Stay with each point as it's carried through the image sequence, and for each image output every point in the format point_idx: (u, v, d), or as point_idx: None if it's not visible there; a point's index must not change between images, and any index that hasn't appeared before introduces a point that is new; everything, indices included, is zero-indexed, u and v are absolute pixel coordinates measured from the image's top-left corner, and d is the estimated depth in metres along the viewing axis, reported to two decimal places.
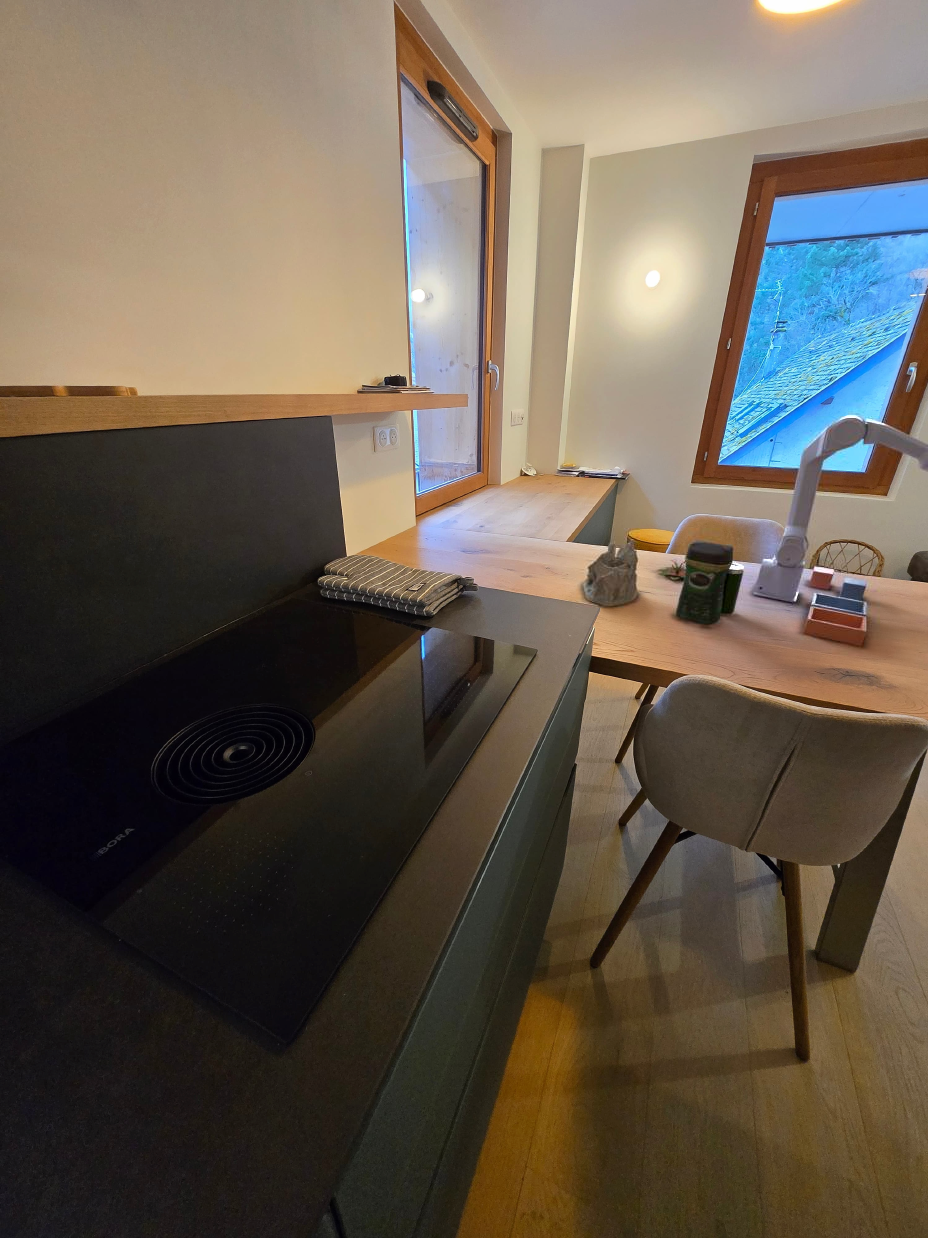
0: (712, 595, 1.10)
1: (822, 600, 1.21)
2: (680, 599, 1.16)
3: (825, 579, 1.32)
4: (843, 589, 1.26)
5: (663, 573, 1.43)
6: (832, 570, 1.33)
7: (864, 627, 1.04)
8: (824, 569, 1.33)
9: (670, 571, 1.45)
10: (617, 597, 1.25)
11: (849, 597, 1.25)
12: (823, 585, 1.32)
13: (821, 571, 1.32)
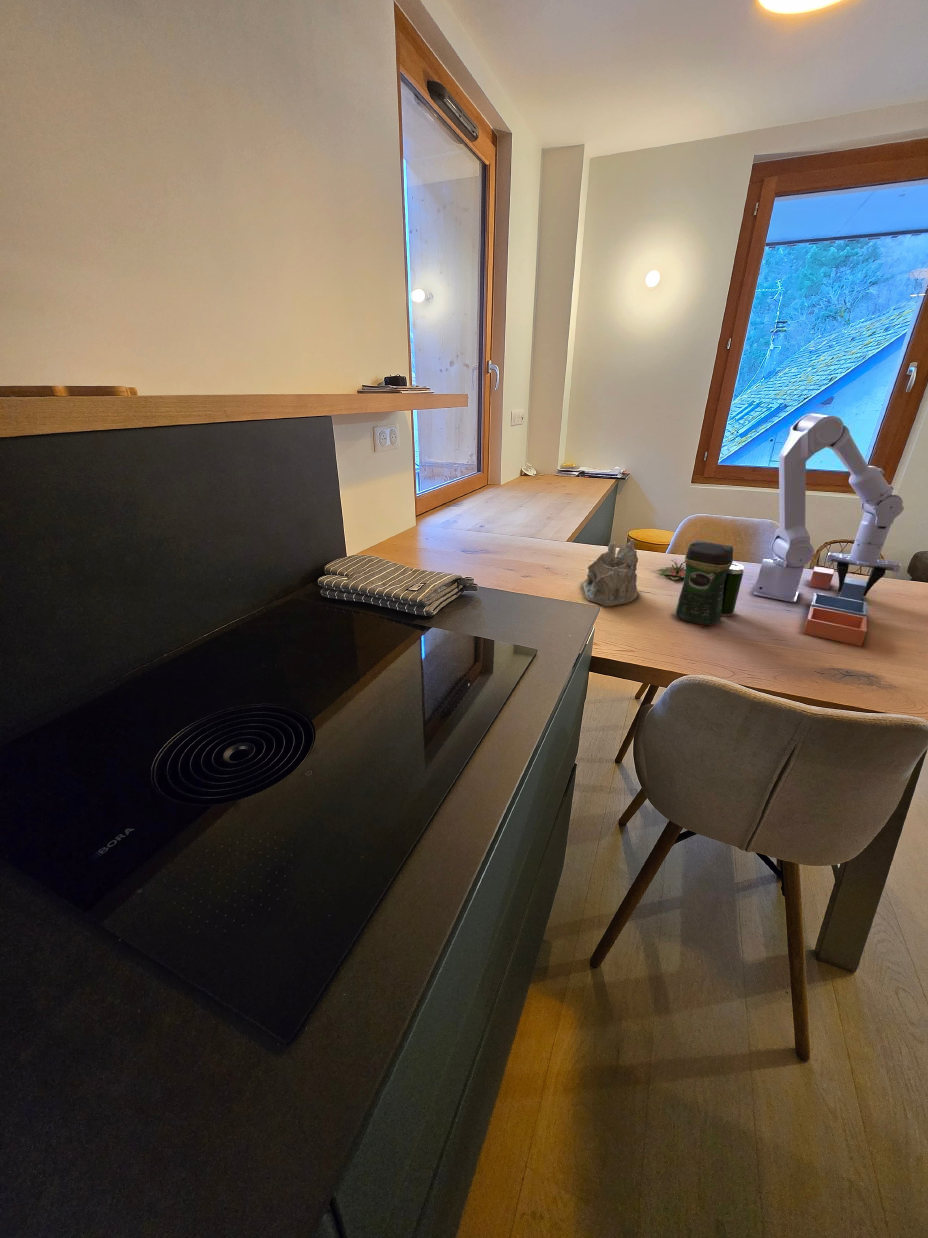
0: (712, 595, 1.10)
1: (822, 600, 1.21)
2: (680, 599, 1.16)
3: (825, 579, 1.32)
4: (843, 589, 1.25)
5: (663, 573, 1.43)
6: (832, 570, 1.33)
7: (864, 627, 1.04)
8: (824, 569, 1.33)
9: (670, 571, 1.45)
10: (617, 597, 1.25)
11: (849, 597, 1.25)
12: (823, 585, 1.32)
13: (821, 571, 1.32)
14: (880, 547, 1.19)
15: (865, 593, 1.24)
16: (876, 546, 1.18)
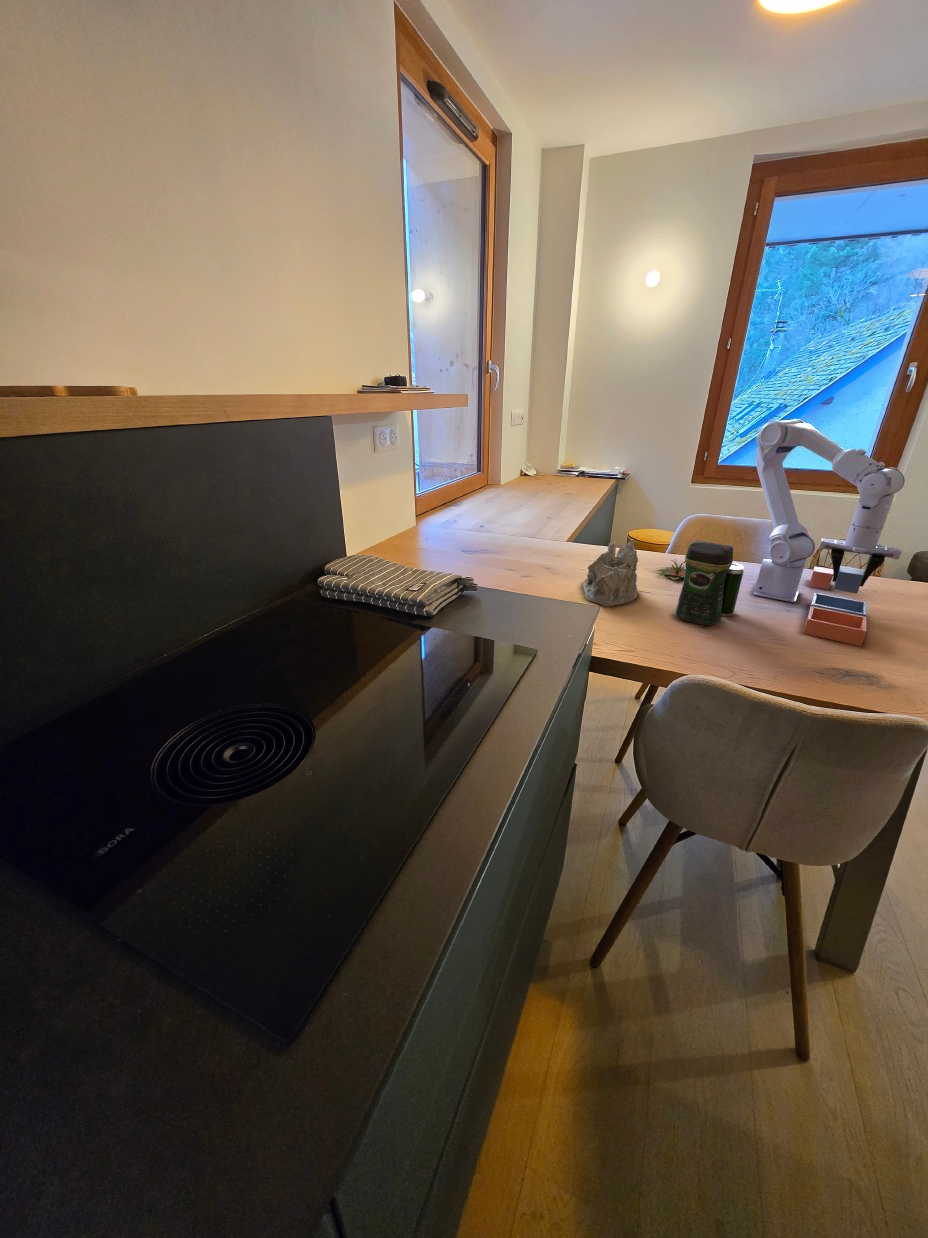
0: (712, 595, 1.10)
1: (822, 600, 1.21)
2: (680, 599, 1.16)
3: (825, 579, 1.32)
4: (838, 579, 1.13)
5: (663, 573, 1.43)
6: (832, 570, 1.33)
7: (864, 627, 1.04)
8: (824, 569, 1.33)
9: (670, 571, 1.45)
10: (617, 597, 1.25)
11: (845, 588, 1.13)
12: (823, 585, 1.32)
13: (821, 571, 1.32)
14: (879, 531, 1.07)
15: (862, 583, 1.12)
16: (874, 530, 1.06)
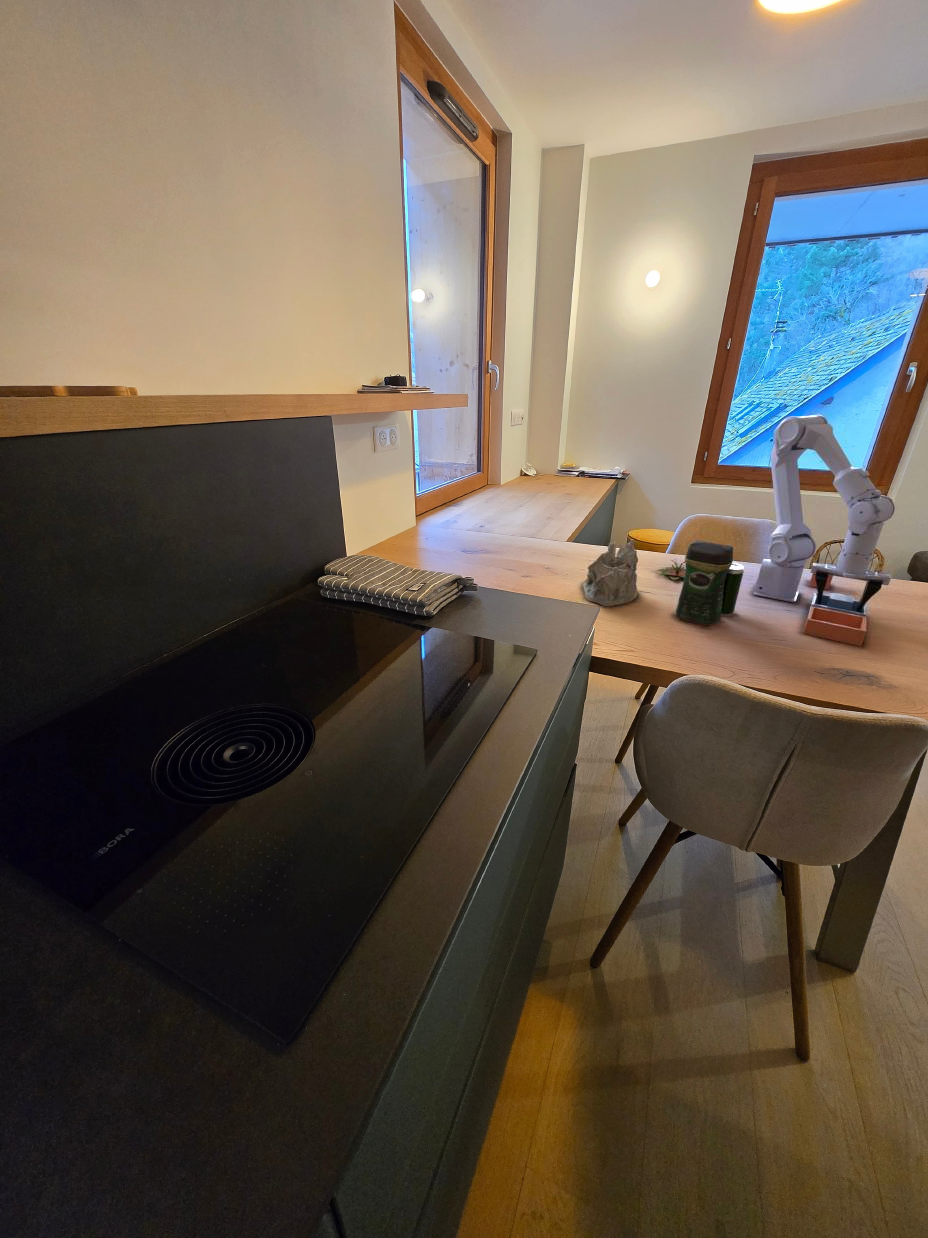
0: (712, 595, 1.10)
1: (822, 600, 1.21)
2: (680, 599, 1.16)
3: None
4: (828, 605, 1.15)
5: (663, 573, 1.43)
6: None
7: (864, 627, 1.04)
8: None
9: (670, 571, 1.45)
10: (617, 597, 1.25)
11: None
12: None
13: None
14: (869, 558, 1.08)
15: (859, 609, 1.13)
16: (864, 557, 1.08)
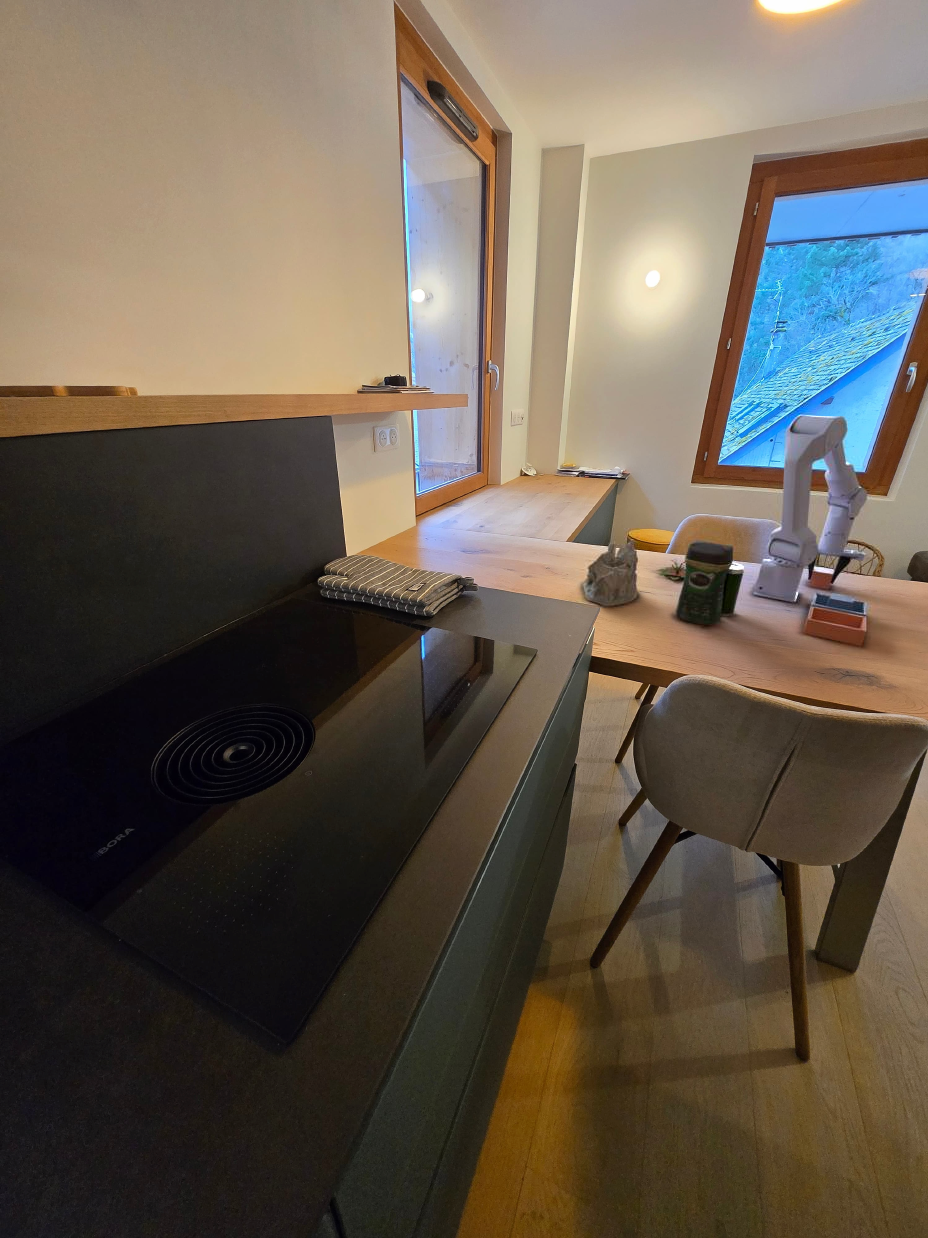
0: (712, 595, 1.10)
1: (822, 600, 1.21)
2: (680, 599, 1.16)
3: (825, 579, 1.32)
4: (828, 605, 1.15)
5: (663, 573, 1.43)
6: (832, 570, 1.33)
7: (864, 627, 1.04)
8: (824, 569, 1.34)
9: (670, 571, 1.45)
10: (617, 597, 1.25)
11: None
12: (823, 585, 1.32)
13: (821, 570, 1.33)
14: None
15: None
16: None
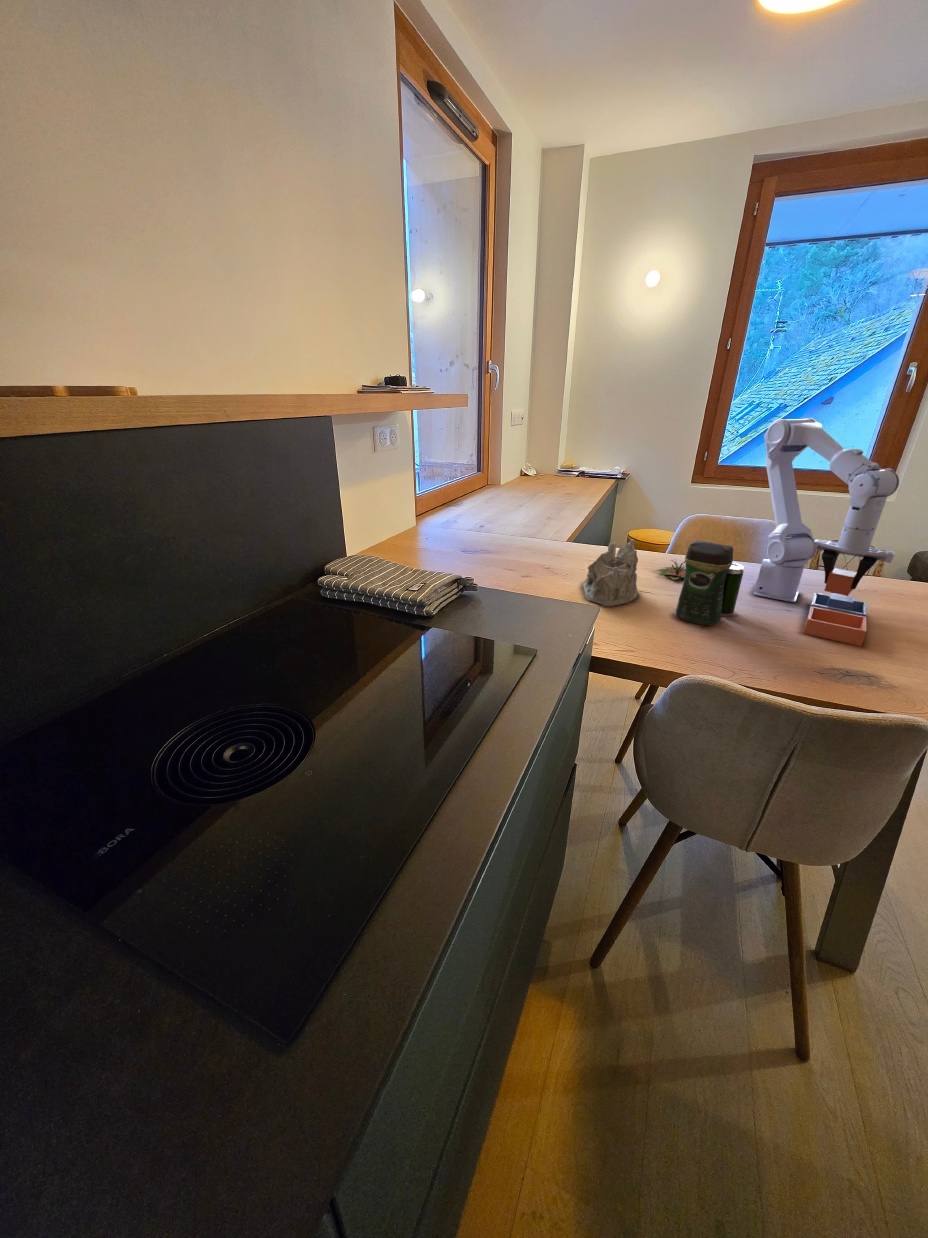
0: (712, 595, 1.10)
1: (822, 600, 1.21)
2: (680, 599, 1.16)
3: (844, 582, 1.10)
4: (828, 605, 1.15)
5: (663, 573, 1.43)
6: (855, 573, 1.11)
7: (864, 627, 1.04)
8: (845, 571, 1.12)
9: (670, 571, 1.45)
10: (617, 597, 1.25)
11: None
12: (841, 590, 1.11)
13: (840, 573, 1.11)
14: None
15: None
16: None
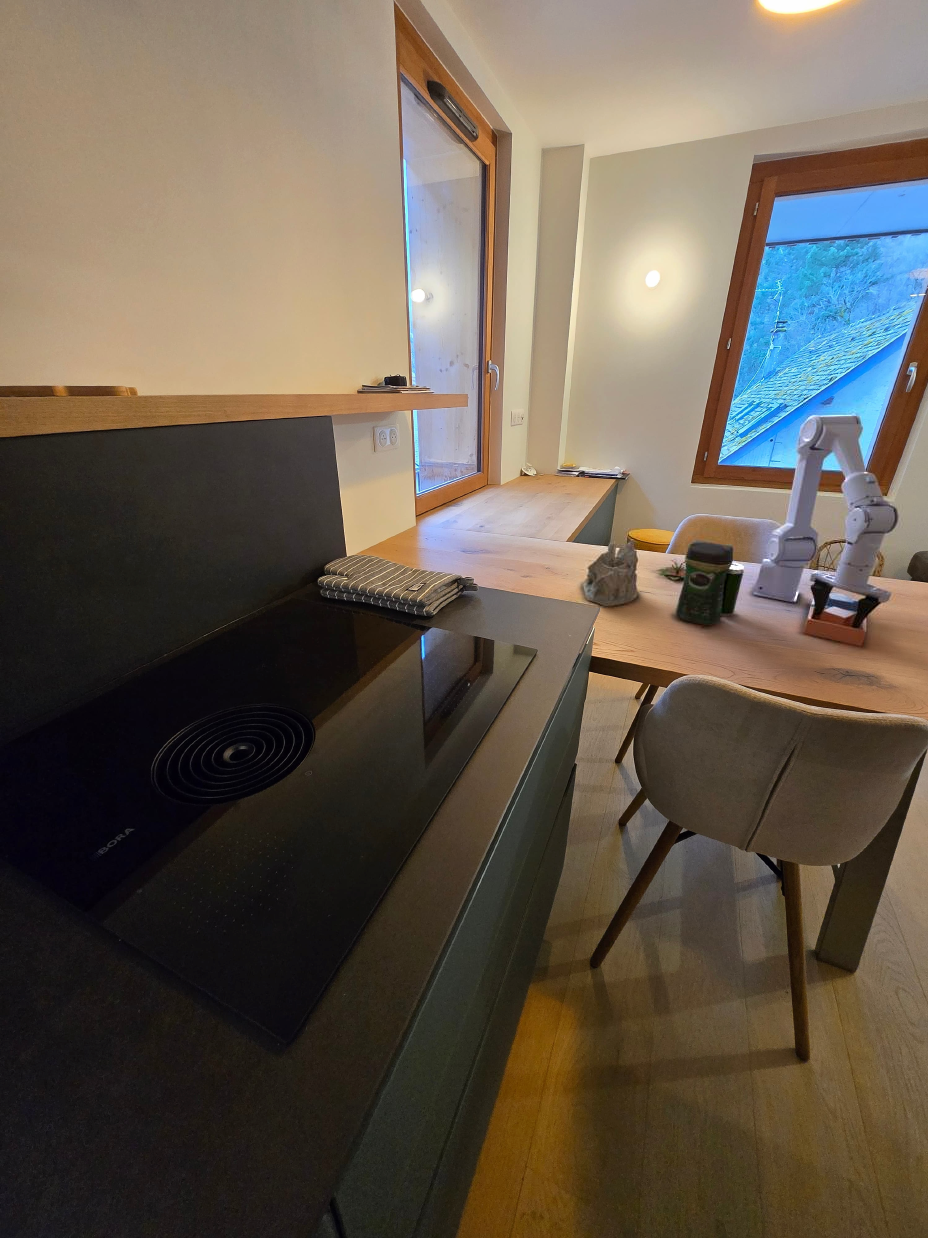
0: (712, 595, 1.10)
1: None
2: (680, 599, 1.16)
3: (836, 622, 1.07)
4: (828, 605, 1.15)
5: (663, 573, 1.43)
6: (851, 614, 1.07)
7: (864, 627, 1.04)
8: (841, 611, 1.08)
9: (670, 571, 1.45)
10: (617, 597, 1.25)
11: None
12: None
13: (833, 612, 1.08)
14: None
15: None
16: None
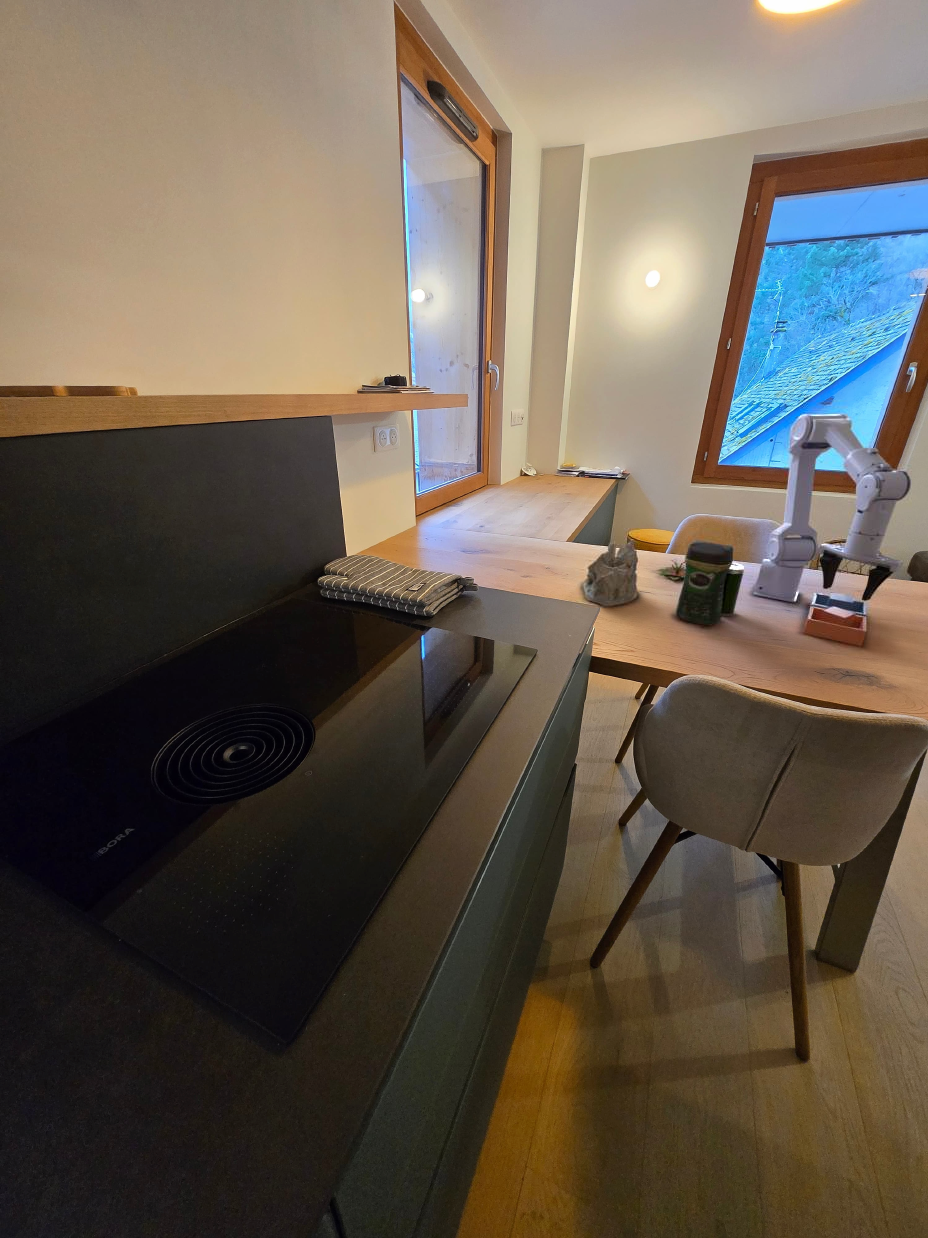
0: (712, 595, 1.10)
1: (822, 600, 1.21)
2: (680, 599, 1.16)
3: (836, 622, 1.07)
4: (828, 605, 1.15)
5: (663, 573, 1.43)
6: (851, 614, 1.07)
7: (864, 627, 1.04)
8: (841, 611, 1.08)
9: (670, 571, 1.45)
10: (617, 597, 1.25)
11: None
12: None
13: (833, 612, 1.08)
14: None
15: None
16: None
